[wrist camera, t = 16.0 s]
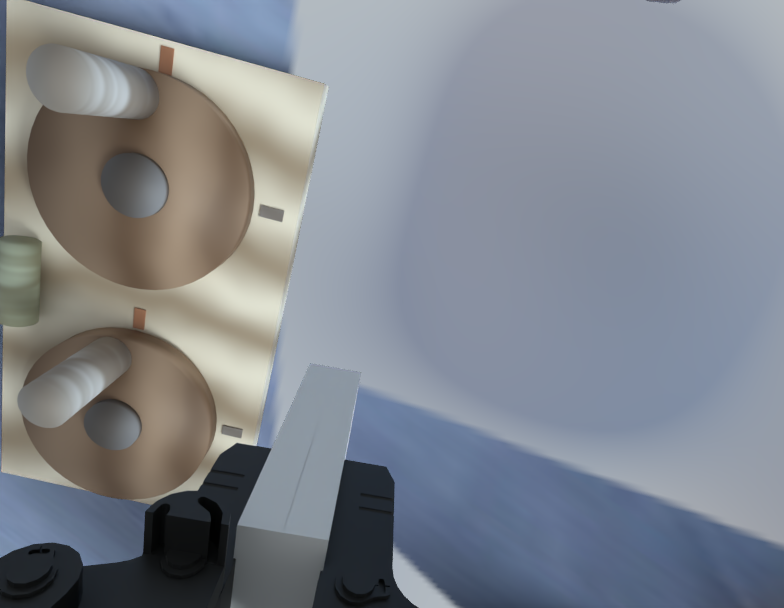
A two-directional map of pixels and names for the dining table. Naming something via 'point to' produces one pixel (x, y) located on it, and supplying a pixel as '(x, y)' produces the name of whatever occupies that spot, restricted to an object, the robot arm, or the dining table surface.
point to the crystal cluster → (665, 1)
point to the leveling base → (170, 306)
